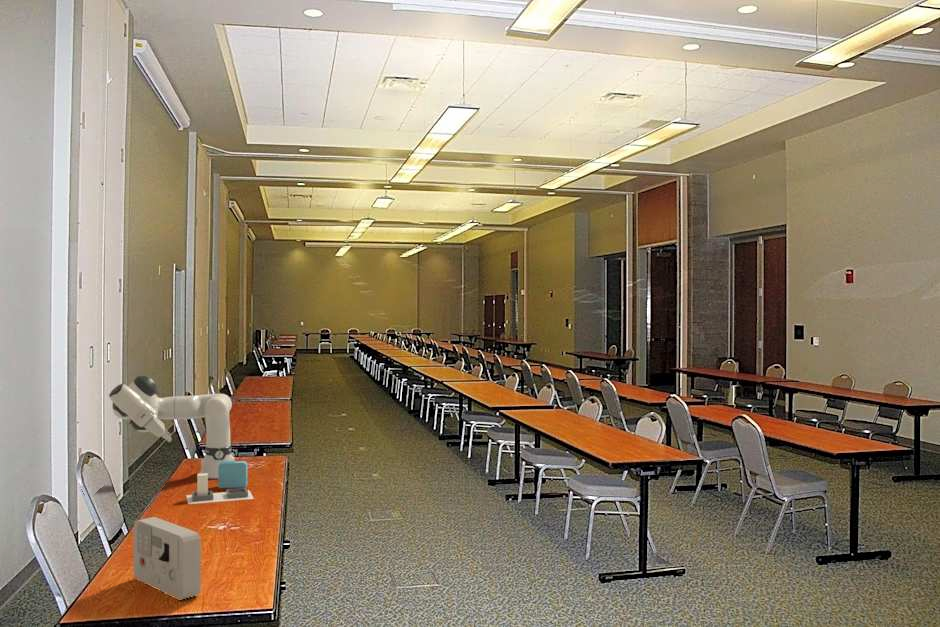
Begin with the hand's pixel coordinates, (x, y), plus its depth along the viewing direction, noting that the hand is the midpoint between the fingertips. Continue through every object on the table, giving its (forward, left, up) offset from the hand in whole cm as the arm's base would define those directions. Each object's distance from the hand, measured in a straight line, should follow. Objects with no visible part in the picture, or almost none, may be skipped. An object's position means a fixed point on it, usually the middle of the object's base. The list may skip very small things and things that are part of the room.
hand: (170, 438), depth 318 cm
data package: (-18, +27, -27) cm, 42 cm away
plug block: (0, +13, -26) cm, 29 cm away
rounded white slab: (+102, -3, -27) cm, 105 cm away
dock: (0, +20, -27) cm, 33 cm away
